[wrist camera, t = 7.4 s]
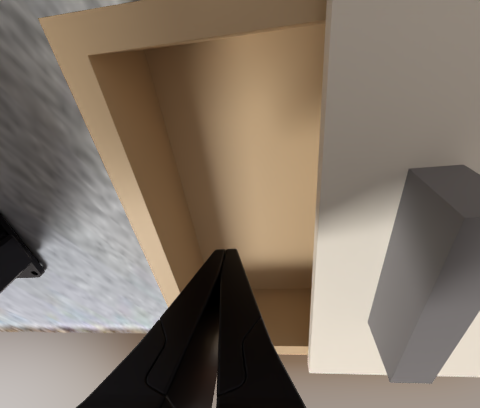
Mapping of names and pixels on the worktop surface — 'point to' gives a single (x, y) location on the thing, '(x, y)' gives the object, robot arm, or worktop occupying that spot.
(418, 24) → the lid
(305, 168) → the box
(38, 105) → the worktop surface
